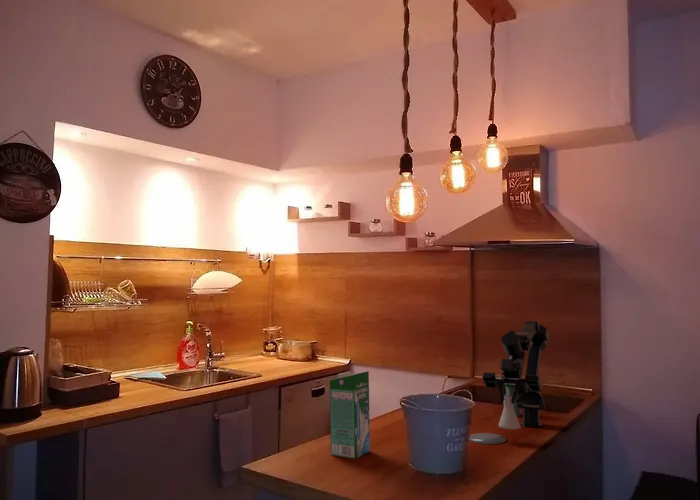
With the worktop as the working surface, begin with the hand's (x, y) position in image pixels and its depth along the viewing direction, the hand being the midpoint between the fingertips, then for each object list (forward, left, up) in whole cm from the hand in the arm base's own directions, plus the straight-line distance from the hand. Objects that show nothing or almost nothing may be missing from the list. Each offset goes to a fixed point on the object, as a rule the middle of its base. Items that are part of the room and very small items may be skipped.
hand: (507, 402), depth 179 cm
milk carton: (+11, -51, -13) cm, 54 cm away
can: (-42, +11, -13) cm, 46 cm away
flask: (-1, +1, -8) cm, 9 cm away
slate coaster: (-5, -6, -13) cm, 15 cm away
